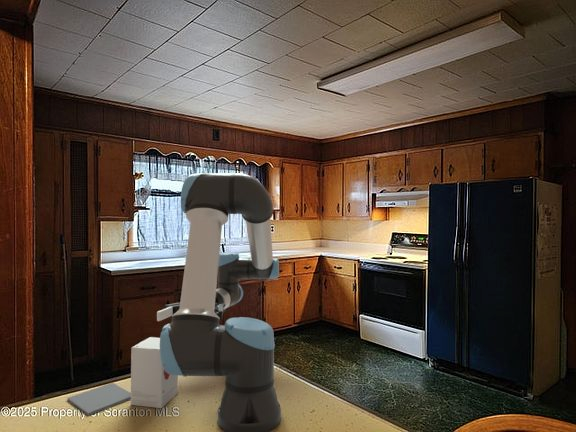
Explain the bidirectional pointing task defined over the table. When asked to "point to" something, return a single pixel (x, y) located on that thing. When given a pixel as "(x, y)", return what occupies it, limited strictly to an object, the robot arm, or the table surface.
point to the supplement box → (150, 376)
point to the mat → (100, 398)
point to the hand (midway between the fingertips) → (177, 318)
